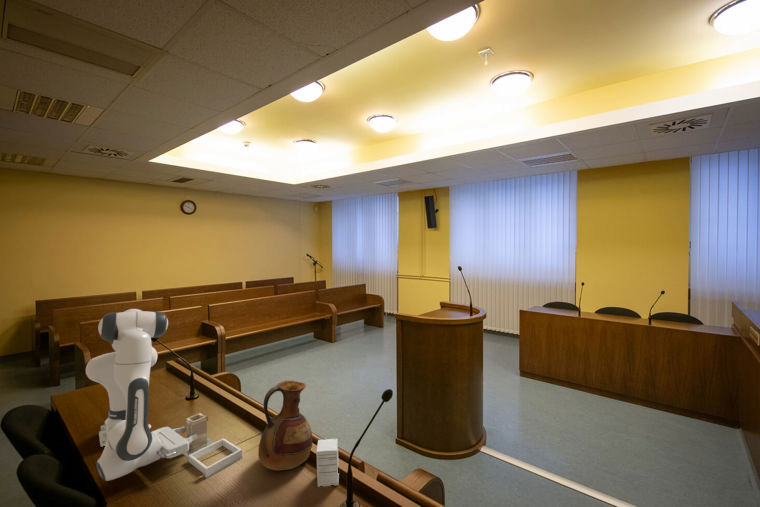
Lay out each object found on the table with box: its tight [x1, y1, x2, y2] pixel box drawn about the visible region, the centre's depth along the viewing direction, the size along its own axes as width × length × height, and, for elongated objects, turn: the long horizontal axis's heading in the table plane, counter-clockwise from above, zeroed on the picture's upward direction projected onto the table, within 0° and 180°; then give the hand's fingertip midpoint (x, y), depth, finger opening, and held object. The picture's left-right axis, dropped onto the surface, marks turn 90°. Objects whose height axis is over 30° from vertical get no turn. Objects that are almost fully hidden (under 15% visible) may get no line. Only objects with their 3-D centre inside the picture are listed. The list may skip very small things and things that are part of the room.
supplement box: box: [315, 438, 340, 488], centre depth 120 cm, size 7×7×13 cm
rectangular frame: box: [187, 437, 243, 479], centre depth 132 cm, size 14×14×4 cm
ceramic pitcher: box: [258, 380, 313, 471], centre depth 131 cm, size 20×20×30 cm
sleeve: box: [185, 412, 209, 451], centre depth 142 cm, size 6×7×12 cm
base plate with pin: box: [182, 435, 217, 458], centre depth 141 cm, size 12×12×9 cm
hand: (190, 432), depth 139 cm, fingers open, 8 cm apart
